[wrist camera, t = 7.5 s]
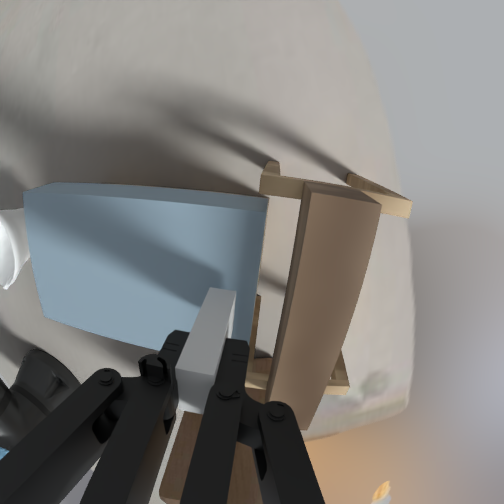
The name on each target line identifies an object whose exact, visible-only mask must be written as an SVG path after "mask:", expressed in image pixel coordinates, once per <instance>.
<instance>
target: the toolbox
mask: <svg viewBox="0 0 504 504" xmlns="http://www.w3.org/2000/svg"><path fill="white" fill-rule="evenodd" d="M304 181H308V182H315V183H321V184H327V185H333V186H339V187H344V188H350V189H355V190H360V191H362V192H363V193H365V194H366V195H368V196H369V197H371V198H373V199H374V200H376V201H377V202H379V203H380V204H382V208H381V213H384V214H389V215H394V216H399V217H404V218H409V216H410V211H411V207H412V201H411V200H409V199H407V198H405V197H403V196H401V195H399V194H397V193H395V192H393V191H391V190H389V189H387V188H385V187H383V186H380V185H378V184H376V183H374V182H372V181H370V180H368V179H365V178H363V177H361V176H359V175H355V174H350V173H348V175H347V181H346V184H348V185H349V186H351V187H348V186H342V185H337V184H331V183H325V182H319V181H313V180H306V179H300V178H293V177H286V176H280V165H279V162H275V161H268V162H267V164H266V166H265V168H264V170H263V172H262V174H261V179H260V187H259V194H265V195H272V196H280V197H287V198H294V199H301V198H302V191H303V185H304ZM101 184H108V183H101ZM117 185H127V184H117ZM135 186H143V185H135ZM150 187H157V186H150ZM163 188H170V187H163ZM175 189H182V188H175ZM187 190H193V189H187ZM198 191H203V190H198ZM208 192H213V191H208ZM218 193H223V192H218ZM227 194H232V193H227ZM236 195H241V194H236ZM244 196H249V195H244ZM253 197H257V196H253ZM261 198H265V197H261ZM268 204H269V198H268ZM267 212H268V207H267ZM266 220H267V215H266ZM265 228H266V223H265ZM264 236H265V231H264ZM263 243H264V238H263ZM262 251H263V246H262ZM261 259H262V254H261ZM260 266H261V261H260ZM259 274H260V269H259ZM258 281H259V277H258ZM257 287H258V284H257ZM256 294H257V292H256ZM260 302H261V296H256V299H255V307H254V314H253V321H252V329H251V336H250V342H249V347H250V352H249V359H248V366H247V373H246V380H245V387H250V388H258V389H266V386H267V382H268V377H269V374H262V373H254V372H252V368H253V360H254V352H255V344H256V336H257V327H258V319H259V311H260ZM349 387H350V385H349V381H348V376H347V372H346V368H345V363H344V359H343V355H342V351H340V353H339V356H338V359H337V361H336V364H335V367H334V369H333V372H332V374H331V379H329V382H328V384H327V387H326V389H325V391H324V394H333V395H346V393H347V391H348V389H349Z"/></svg>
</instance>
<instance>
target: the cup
mask: <svg viewBox="0 0 504 504" xmlns="http://www.w3.org/2000/svg"><path fill="white" fill-rule="evenodd" d="M29 258H30V251H29V245H28V239H27V231H26V224H25V215H24V207H23V208H20V209H15V210H0V284H1V285H3V288H4V289H5V290H6V289H8V288H9V286H10V285H11V284H12V283H13V282H14V281H15V279H16V278H17V276H18V274H19V272H20V270H21V268H22V266H23V264H24V263H25V262H26V261H27V260H28V259H29Z"/></svg>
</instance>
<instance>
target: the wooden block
mask: <svg viewBox="0 0 504 504" xmlns="http://www.w3.org/2000/svg"><path fill="white" fill-rule="evenodd" d="M272 359H273V358H257V359H254V360H253V368H252V372H254V373H262V374H269V373H270V368H271V363H272ZM245 391H246V393H247V394H248V396H249V397H251V398H252V399H253V400H255V401H257V402H260V403H263V404H265V391H266V389H258V388H250V387H245ZM202 417H203V414H198V413H193V412H188V411H184V414H183V417H182V420H181V423H180V426H179V429H178V432H177V436H176V439H175V442H174V445H173V448H172V451H171V454H170V457H169V460H168V463H167V467H166V470H165V473H164V476H163V479H162V482H161V485H160V489H159V496H160V499H161V500H163V501H164V502H165V503H166V504H180V500H181V496H182V492H183V488H184V485H185V481H186V477H187V473H188V469H189V466H190V462H191V458H192V454H193V450H194V447H195V443H196V439H197V435H198V432H199V428H200V424H201V420H202ZM227 504H263V501H262V496H261V492H260V487H259V482H258V478H257V473H256V468H255V463H254V458H253V453H252V448H251V447H249V446H247V445H244V444H242V443H240V442H237V441H236V448H235V455H234V461H233V467H232V474H231V480H230V486H229V493H228V499H227Z"/></svg>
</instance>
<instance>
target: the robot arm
mask: <svg viewBox="0 0 504 504" xmlns="http://www.w3.org/2000/svg"><path fill="white" fill-rule="evenodd" d="M235 300H236V291H232V290H225V289H218V288H212V287H210V288H209V290H208V293H207V295H206V297H205V299H204V302H203V304H202V306H201V309H200V311H199V313H198V315H197V318H196V320H195V322H194V325H193V327H192V329H191V332H186V331H180V330H174V331H173V332H171V333H170V334H169V335H168V336H167V338H166V340H165V342H164V344H163V346H162V349H161V350H160V352H159V353H158V355H157V354H151V355H146V356H144V357H142V358H141V359H140V360H139V361H138V363H139V369H140V374H141V376H139V377H121V376H120V373H119V372H117V371H116V370H114V369H111V368H104V369H100V370H98V371H96V372H95V373H94V374H93V375H91V376H90V377H89V378H88V379H87V380H86V381H85V382H84V383H83V384H82V385H80V383H79V382H78V380H77V379H76V378H75V377H74V376H73V375H72V373H71V372H70V371H69V370H68V369H67V368H66V367H65V366H63V365H62V364H61V363H60V362H59V361H57V360H56V359H55V358H53V357H52V356H50V355H49V354H47V353H45V352H43V351H40V350H31V351H30V352H29V353H28V354H27V355H26V356H25V357H24V359H23V361H22V366H21V367H20V369H19V372H18V374H17V377H16V380H15V382H14V384H13V385H12V386H11V387H10V389H8V387H7V386H6V385H5V383H4V382H3V381H2V380H1V378H0V504H59V503H60V502H61V501H62V500H63V499H64V498H65V497H66V495H67V494H68V493H69V492H70V491H71V490H72V489H73V488H74V487H75V485H76V484H77V483H78V482H79V481H80V480H81V479H82V477H83V476H84V475H85V474H86V473H87V471H88V470H89V469H90V468H91V467H92V466H93V465H94V464H95V462H96V461H97V460H98V459H99V458H100V459H99V462H98V464H97V466H96V468H95V470H94V472H93V475H92V477H91V479H90V481H89V483H88V486H87V488H86V490H85V492H84V495H83V497H82V499H81V502H80V504H149V500H150V497H151V494H152V491H153V488H154V485H155V482H156V478H157V475H158V472H159V469H160V466H161V463H162V460H163V457H164V454H165V451H166V448H167V445H168V442H169V439H170V436H171V433H172V430H173V427H174V424H175V421H176V409H177V406H178V404H179V410H184V411H188V412H193V413H198V414H203V417H202V420H201V424H200V428H199V432H198V435H197V439H196V443H195V447H194V450H193V454H192V458H191V462H190V466H189V469H188V473H187V477H186V481H185V485H184V488H183V492H182V496H181V500H180V504H227V499H228V493H229V486H230V480H231V474H232V467H233V461H234V455H235V448H236V441H237V442H240V443H242V444H244V445H247V446H249V447H251V448H252V453H253V458H254V463H255V468H256V473H257V478H258V482H259V487H260V492H261V496H262V501H263V504H325V502H324V499H323V496H322V493H321V490H320V487H319V485H318V482H317V479H316V476H315V473H314V470H313V467H312V464H311V461H310V459H309V455H308V453H307V450H306V447H305V444H304V441H303V438H302V435H301V432H300V429H299V426H298V423H297V420H296V417H295V414H294V411H293V410H292V408H291V407H290V406H289V405H287V404H286V403H283V402H281V401H270V402H266V403H265V404H263V403H260V402H257V401H255V400H253V399H252V398H251V397H249V396H248V394H247V393H246V391H245V380H246V373H247V366H248V359H249V352H250V347H249V345H248V343H247V341H245V340H238V339H231V335H232V331H233V321H234V311H235Z"/></svg>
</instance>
